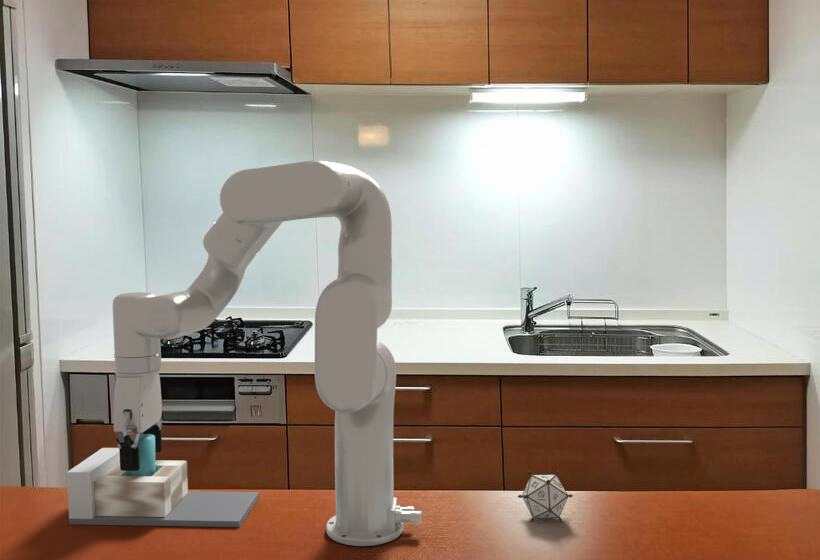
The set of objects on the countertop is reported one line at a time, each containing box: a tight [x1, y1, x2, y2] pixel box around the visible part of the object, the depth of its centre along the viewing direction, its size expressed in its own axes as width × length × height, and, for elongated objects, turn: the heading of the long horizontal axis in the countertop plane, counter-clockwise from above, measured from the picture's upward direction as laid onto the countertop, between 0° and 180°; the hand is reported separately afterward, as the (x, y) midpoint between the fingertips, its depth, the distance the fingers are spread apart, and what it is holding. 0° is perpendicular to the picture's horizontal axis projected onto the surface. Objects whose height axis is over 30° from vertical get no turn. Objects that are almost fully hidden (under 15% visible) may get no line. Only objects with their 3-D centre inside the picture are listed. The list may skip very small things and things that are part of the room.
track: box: [66, 447, 260, 528], centre depth 131 cm, size 29×13×9 cm, turn 87°
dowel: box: [130, 433, 156, 476], centre depth 131 cm, size 4×4×12 cm
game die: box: [517, 470, 574, 523], centre depth 127 cm, size 9×8×10 cm
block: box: [94, 459, 189, 517], centre depth 131 cm, size 12×11×6 cm
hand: (141, 460), depth 131 cm, fingers open, 9 cm apart
